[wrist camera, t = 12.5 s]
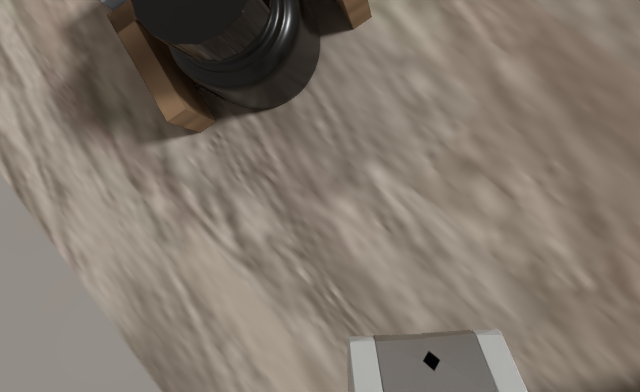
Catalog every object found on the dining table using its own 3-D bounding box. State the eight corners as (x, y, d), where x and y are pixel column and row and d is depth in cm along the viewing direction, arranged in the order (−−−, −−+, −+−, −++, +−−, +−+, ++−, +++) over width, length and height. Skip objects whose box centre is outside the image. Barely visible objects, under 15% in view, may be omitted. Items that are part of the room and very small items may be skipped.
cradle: (371, 16, 35) (364, -14, 30) (200, 132, 38) (167, 121, 33) (310, -80, 36) (293, -124, 31) (146, 39, 39) (106, 15, 34)
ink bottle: (216, -21, 38) (124, -123, 26) (331, -12, 36) (288, -118, 24) (196, 108, 38) (96, 65, 26) (310, 123, 36) (258, 84, 24)
